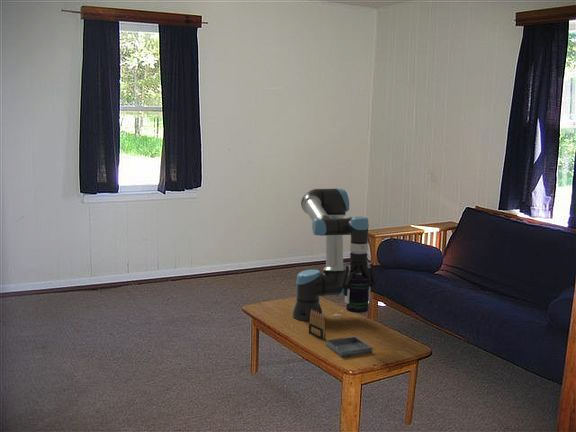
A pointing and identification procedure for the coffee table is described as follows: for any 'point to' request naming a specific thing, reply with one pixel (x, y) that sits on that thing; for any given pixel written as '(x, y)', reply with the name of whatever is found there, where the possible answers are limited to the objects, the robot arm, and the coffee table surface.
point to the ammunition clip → (317, 325)
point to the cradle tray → (349, 346)
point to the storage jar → (358, 294)
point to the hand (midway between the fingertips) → (357, 301)
